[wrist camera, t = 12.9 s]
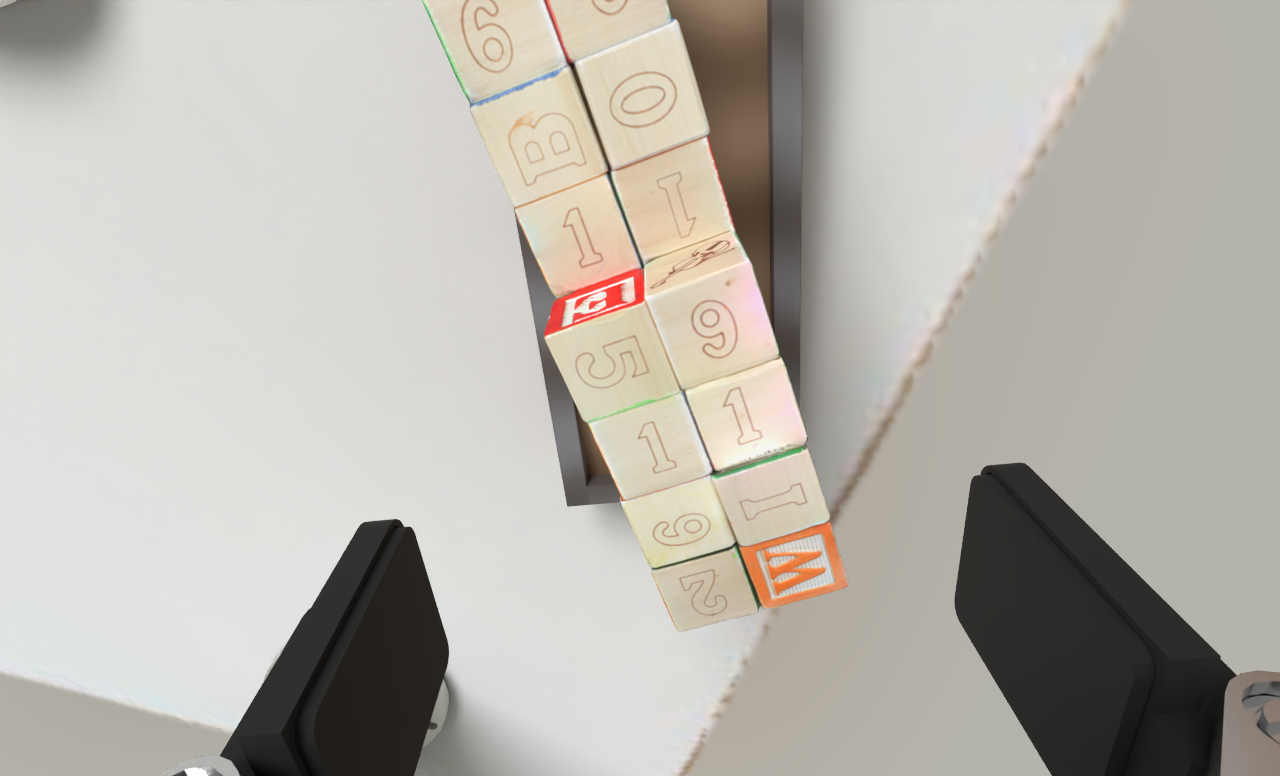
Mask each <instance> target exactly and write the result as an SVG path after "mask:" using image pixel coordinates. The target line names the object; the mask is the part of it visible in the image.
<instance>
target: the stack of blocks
mask: <svg viewBox="0 0 1280 776" xmlns="http://www.w3.org/2000/svg"><path fill="white" fill-rule="evenodd" d="M422 2H423V4H424V6H425V8H426V10H427V13H428V15H429V17H430V19H431V22H432V24H433V26H434V28H435V30H436V33H437V35H438V37H439V39H440V41H441V44H442V46H443V48H444V50H445V52H446V55H447V57H448V59H449V62H450V64H451V66H452V69H453V71H454V73H455V75H456V77H457V80H458V81H459V83H460V85H461V87H462V90H463V92H464V94H465V95H466V97H467V99H468V100H469V102H470V111H471V114H472V117H473V119H474V121H475V124H476V126H477V128H478V130H479V132H480V135H481V137H482V139H483V141H484V144H485V146H486V148H487V150H488V153H489V155H490V157H491V159H492V162H493V164H494V166H495V168H496V170H497V172H498V175H499V177H500V179H501V181H502V183H503V186H504V188H505V190H506V193H507V195H508V197H509V199H510V202H511V204H512V205H513V206H514V209H515V212H516V216H517V219H518V222H519V224H520V225H521V227H522V230H523V232H524V235H525V237H526V239H527V241H528V243H529V246H530V248H531V250H532V252H533V254H534V256H535V258H536V260H537V262H538V265H539V267H540V269H541V271H542V273H543V276H544V278H545V280H546V282H547V284H548V286H549V288H550V290H551V291H552V293H553V294H554V295H555V296H556V298H557V299H556V300H555V301H554V303H553V305H552V307H551V313H550V316H549V318H548V322H547V326H546V329H545V332H544V339H545V341H546V343H547V345H548V347H549V349H550V351H551V354H552V356H553V358H554V360H555V362H556V364H557V366H558V368H559V370H560V372H561V374H562V376H563V378H564V381H565V383H566V385H567V387H568V389H569V391H570V393H571V396H572V398H573V400H574V402H575V404H576V406H577V408H578V410H579V413H580V415H581V417H582V419H583V420H584V421H585V422H587V423H588V425H589V427H590V430H591V432H592V434H593V437H594V439H595V442H596V444H597V446H598V448H599V450H600V452H601V455H602V457H603V459H604V461H605V463H606V465H607V467H608V469H609V471H610V474H611V476H612V478H613V480H614V482H615V485H616V487H617V489H618V491H619V493H620V501H621V505H622V507H623V509H624V512H625V514H626V516H627V518H628V520H629V523H630V525H631V527H632V529H633V531H634V533H635V535H636V538H637V540H638V542H639V544H640V546H641V549H642V551H643V553H644V555H645V558H646V560H647V562H648V564H649V565H650V567H651V569H652V575H653V578H654V580H655V582H656V585H657V587H658V589H659V592H660V594H661V596H662V598H663V601H664V603H665V605H666V608H667V610H668V612H669V614H670V617H671V619H672V621H673V623H674V625H675V628H676V629H677V630H678V631H681V632H683V631H687V630H690V629H694V628H698V627H702V626H706V625H709V624H713V623H717V622H721V621H725V620H729V619H733V618H738V617H742V616H747V615H751V614H755V613H757V612H758V610H759V607H762V608H764V609H768V608H775V607H779V606H783V605H786V604H789V603H793V602H797V601H801V600H804V599H808V598H811V597H815V596H819V595H822V594H826V593H829V592H833V591H836V590H840V589H843V588H846V587H847V586H848V585H849V583H848V580H847V576H846V572H845V569H844V566H843V562H842V559H841V556H840V553H839V550H838V546H837V542H836V539H835V535H834V532H833V529H832V525H831V523H830V521H829V519H830V514H829V511H828V508H827V505H826V501H825V498H824V495H823V492H822V489H821V486H820V483H819V480H818V477H817V474H816V471H815V468H814V465H813V462H812V459H811V456H810V453H809V450H808V448H807V445H806V441H807V439H808V435H807V432H806V429H805V425H804V422H803V419H802V417H801V414H800V411H799V407H798V404H797V400H796V397H795V394H794V391H793V388H792V385H791V382H790V379H789V375H788V372H787V369H786V367H785V364H784V362H783V360H782V357H781V355H780V353H779V347H778V344H777V341H776V338H775V335H774V332H773V329H772V326H771V322H770V319H769V316H768V313H767V310H766V307H765V303H764V300H763V297H762V294H761V291H760V288H759V285H758V282H757V279H756V275H755V272H754V269H753V265H752V263H751V261H750V259H749V257H748V255H747V254H746V251H745V249H744V247H743V245H742V243H741V241H740V239H739V237H738V236H737V234H736V230H735V226H734V223H733V220H732V216H731V213H730V210H729V206H728V203H727V199H726V196H725V192H724V189H723V186H722V182H721V179H720V175H719V172H718V168H717V165H716V161H715V158H714V154H713V151H712V148H711V144H710V141H709V137H708V136H709V132H710V127H709V124H708V120H707V117H706V113H705V110H704V106H703V102H702V99H701V95H700V92H699V88H698V85H697V81H696V78H695V74H694V71H693V68H692V64H691V61H690V58H689V54H688V51H687V48H686V44H685V41H684V38H683V34H682V31H681V28H680V24H679V22H678V21H677V20H676V19H674V18H673V17H672V16H671V12H670V9H669V5H668V2H667V0H422Z"/></svg>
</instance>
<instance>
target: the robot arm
mask: <svg viewBox="0 0 1280 776" xmlns="http://www.w3.org/2000/svg"><path fill="white" fill-rule="evenodd" d="M955 609H956V614H957V616H958V619H959V621H960V623H961V624H962V627H963V628H964V630H965V632H966V633H967V635H968V637H969V638H970V640H971V642H972V643H973V645H974V647H975V648H976V650H977V652H978V653H979V655H980V656H981V658H982V660H983V662H984V663H985V665H986V667H987V668H988V670H989V671H990V673H991V675H992V677H993V678H994V680H995V682H996V683H997V685H998V687H999V688H1000V690H1001V692H1002V693H1003V695H1004V697H1005V698H1006V700H1007V702H1008V703H1009V705H1010V707H1011V708H1012V710H1013V711H1014V713H1015V715H1016V717H1017V718H1018V720H1019V722H1020V723H1021V725H1022V726H1023V728H1024V730H1025V731H1026V733H1027V735H1028V737H1029V738H1030V740H1031V741H1032V743H1033V745H1034V747H1035V748H1036V750H1037V751H1038V753H1039V755H1040V757H1041V758H1042V760H1043V762H1044V763H1045V765H1046V767H1047V768H1048V770H1049V772H1050V773H1051V775H1052V776H1280V673H1279V672H1267V671H1252V672H1246V673H1241V674H1239V675H1236V674H1235V673H1234V672H1233V671H1232V670H1231V669H1230V668H1229V667H1228V666H1227V665H1226V664H1225V663H1224V662H1223V661H1222V660H1221V659H1220V658H1221V657H1220V655H1219V654H1218V653H1217V652H1216V651H1215V650H1214V649H1213V648H1212V647H1211V646H1210V645H1209V644H1208V643H1207V642H1206V641H1204V639H1203V638H1202V637H1201V636H1200V635H1199V634H1198V633H1196V631H1194V629H1192V627H1191V626H1190V625H1188V624H1187V623H1186V622H1185V621H1184V620H1183V619H1182V618H1181V617H1180V616H1179V615H1178V614H1177V613H1176V612H1175V611H1174V610H1173V609H1172V608H1171V607H1170V606H1169V605H1168V604H1167V603H1166V602H1165V601H1164V600H1163V599H1162V598H1161V597H1160V596H1159V595H1158V594H1157V593H1156V592H1155V591H1154V590H1153V589H1152V588H1151V587H1150V586H1149V585H1148V584H1147V583H1146V582H1145V581H1144V580H1143V579H1142V578H1141V577H1140V576H1139V575H1138V574H1137V573H1136V572H1135V571H1134V570H1133V569H1132V568H1131V567H1130V566H1129V565H1128V564H1127V563H1126V562H1125V561H1124V560H1123V559H1122V558H1121V557H1120V556H1119V555H1118V554H1117V553H1115V551H1114V550H1113V549H1112V548H1111V547H1110V546H1109V545H1108V544H1107V543H1106V542H1105V541H1104V540H1103V539H1102V538H1100V536H1099V535H1098V534H1097V533H1096V532H1094V530H1092V528H1090V526H1088V525H1087V523H1085V522H1084V521H1083V520H1082V519H1081V518H1080V517H1079V516H1078V515H1077V514H1076V513H1075V512H1074V511H1073V510H1072V509H1071V508H1070V507H1069V506H1068V505H1067V504H1066V503H1065V502H1064V501H1063V500H1062V499H1061V498H1060V497H1059V496H1058V495H1057V494H1056V493H1055V492H1054V491H1053V490H1052V489H1051V488H1050V487H1049V486H1048V485H1047V484H1046V483H1045V482H1044V481H1043V480H1042V479H1041V478H1040V477H1039V476H1038V475H1037V474H1036V473H1035V472H1034V471H1033V470H1032V469H1031V468H1030V467H1029V466H1027V465H1026V464H1025V463H1012V464H1002V465H1001V464H1000V465H989V466H986V467H984V468H983V470H982V471H981V475H977V476H974V477H973V479H972V481H971V485H970V493H969V499H968V506H967V514H966V521H965V528H964V535H963V542H962V549H961V556H960V564H959V571H958V578H957V585H956V592H955ZM448 658H449V647H448V641H447V638H446V635H445V631H444V628H443V625H442V621H441V618H440V615H439V612H438V608H437V605H436V602H435V598H434V595H433V592H432V588H431V585H430V582H429V579H428V575H427V572H426V569H425V565H424V562H423V559H422V556H421V552H420V549H419V546H418V542H417V539H416V536H415V533H414V530H413V529H412V528H411V527H404V526H403V524H402V523H401V521H400V520H397V519H393V520H382V521H371V522H364V523H362V524H361V525H360V526H359V528H358V529H357V531H356V533H355V534H354V536H353V538H352V540H351V541H350V543H349V545H348V546H347V548H346V550H345V551H344V553H343V555H342V557H341V558H340V560H339V562H338V563H337V565H336V567H335V568H334V570H333V572H332V573H331V575H330V577H329V579H328V580H327V582H326V584H325V585H324V587H323V589H322V590H321V592H320V594H319V595H318V597H317V599H316V601H315V602H314V604H313V606H312V607H311V609H309V610H308V611H307V612H306V613H305V615H304V616H303V617H302V619H301V621H300V622H299V624H298V626H297V627H296V629H295V631H294V632H293V634H292V636H291V637H290V639H289V641H288V642H287V644H286V646H285V647H284V648H283V649H282V650H281V651H280V652H279V653H278V654H277V656H276V658H275V659H274V661H273V663H272V664H271V666H270V667H269V669H268V671H267V673H266V676H265V679H264V683H263V684H262V686H261V688H260V689H259V691H258V693H257V694H256V696H255V698H254V699H253V701H252V703H251V704H250V706H249V708H248V709H247V711H246V713H245V714H244V716H243V718H242V720H241V721H240V723H239V725H238V726H237V728H236V730H235V731H234V733H233V735H232V736H231V738H230V740H229V741H228V743H227V745H226V747H225V748H224V750H223V751H222V753H221V755H220V756H201V757H197V758H194V759H190V760H186V761H183V762H181V763H179V764H177V765H175V766H173V767H171V768H169V769H167V770H164V771H163V772H161V773H160V774H159V775H157V776H414V773H415V770H416V767H417V763H418V760H419V757H420V754H421V750H422V748H424V747H426V746H427V745H428V744H429V743H430V742H432V741H433V740H434V739H435V738H436V736H437V735H438V734H439V732H440V731H441V730H442V727H443V725H444V722H445V719H446V715H447V711H448V707H449V692H448V689H447V686H446V683H445V681H444V679H443V678H444V675H445V671H446V668H447V664H448Z"/></svg>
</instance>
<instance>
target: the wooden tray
mask: <svg viewBox="0 0 1280 776" xmlns="http://www.w3.org/2000/svg"><path fill="white" fill-rule="evenodd" d="M667 2H668V5H669V9H670V12H671V16H672V17H673V18H674V19H676V20H677V21H678V22H679V24H680V28H681V31H682V34H683V38H684V41H685V44H686V48H687V51H688V54H689V58H690V61H691V64H692V68H693V71H694V74H695V78H696V81H697V85H698V88H699V92H700V95H701V99H702V102H703V106H704V110H705V113H706V117H707V120H708V124H709V127H710V132H709V136H708V137H709V141H710V144H711V148H712V151H713V154H714V158H715V161H716V165H717V168H718V172H719V175H720V179H721V182H722V186H723V189H724V192H725V196H726V199H727V203H728V206H729V210H730V213H731V216H732V220H733V223H734V226H735V230H736V234H737V236H738V237H739V239H740V241H741V243H742V245H743V247H744V249H745V251H746V254H747V255H748V257H749V259H750V261H751V263H752V265H753V269H754V272H755V275H756V279H757V282H758V285H759V288H760V291H761V294H762V297H763V300H764V303H765V307H766V310H767V313H768V316H769V319H770V322H771V326H772V329H773V332H774V335H775V338H776V341H777V344H778V347H779V353H780V355H781V357H782V360H783V362H784V364H785V367H786V369H787V372H788V375H789V379H790V382H791V385H792V388H793V391H794V394H795V397H796V400H797V404H798V407H799V387H800V280H801V173H802V66H803V0H667ZM514 211H515V209H514ZM515 217H516V222H517V228H518V233H519V239H520V245H521V250H522V256H523V261H524V267H525V272H526V278H527V284H528V289H529V295H530V300H531V306H532V312H533V317H534V323H535V328H536V334H537V339H538V345H539V351H540V356H541V362H542V367H543V373H544V378H545V384H546V390H547V395H548V401H549V406H550V412H551V417H552V423H553V429H554V434H555V440H556V445H557V451H558V457H559V462H560V468H561V473H562V479H563V484H564V490H565V496H566V501H567V506H579V505H590V504H602V503H614V502H621V501H620V493H619V491H618V489H617V487H616V485H615V482H614V480H613V478H612V476H611V474H610V471H609V469H608V467H607V465H606V463H605V461H604V459H603V457H602V455H601V452H600V450H599V448H598V446H597V444H596V442H595V439H594V437H593V434H592V432H591V430H590V427H589V425H588V423H587V422H585V421H584V420H583V419H582V417H581V415H580V413H579V410H578V408H577V406H576V404H575V402H574V400H573V398H572V396H571V393H570V391H569V389H568V387H567V385H566V383H565V381H564V378H563V376H562V374H561V372H560V370H559V368H558V366H557V364H556V362H555V360H554V358H553V356H552V354H551V351H550V349H549V347H548V345H547V343H546V341H545V339H544V332H545V329H546V326H547V322H548V318H549V316H550V313H551V307H552V305H553V303H554V301H555V300H556V299H557V298H556V296H555V295H554V294H553V293H552V291H551V290H550V288H549V286H548V284H547V282H546V280H545V278H544V276H543V273H542V271H541V269H540V267H539V265H538V262H537V260H536V258H535V256H534V254H533V252H532V250H531V248H530V246H529V243H528V241H527V239H526V237H525V235H524V232H523V230H522V227H521V225H520V224H519V222H518V219H517V216H516V212H515Z"/></svg>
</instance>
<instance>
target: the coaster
mask: <svg viewBox="0 0 1280 776" xmlns="http://www.w3.org/2000/svg"><path fill="white" fill-rule="evenodd" d="M16 1H17V0H0V7H3V6H6V5H9V4H11V3H14V2H16Z"/></svg>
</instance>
